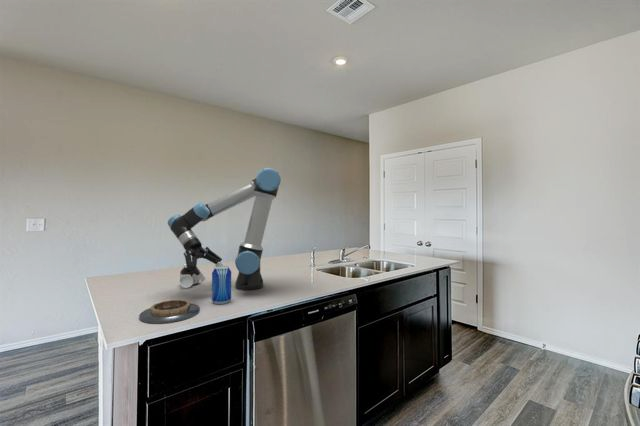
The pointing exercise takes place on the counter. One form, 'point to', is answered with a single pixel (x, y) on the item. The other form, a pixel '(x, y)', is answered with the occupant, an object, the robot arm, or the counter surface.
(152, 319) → the collar plate
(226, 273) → the beer can
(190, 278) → the spread jar
